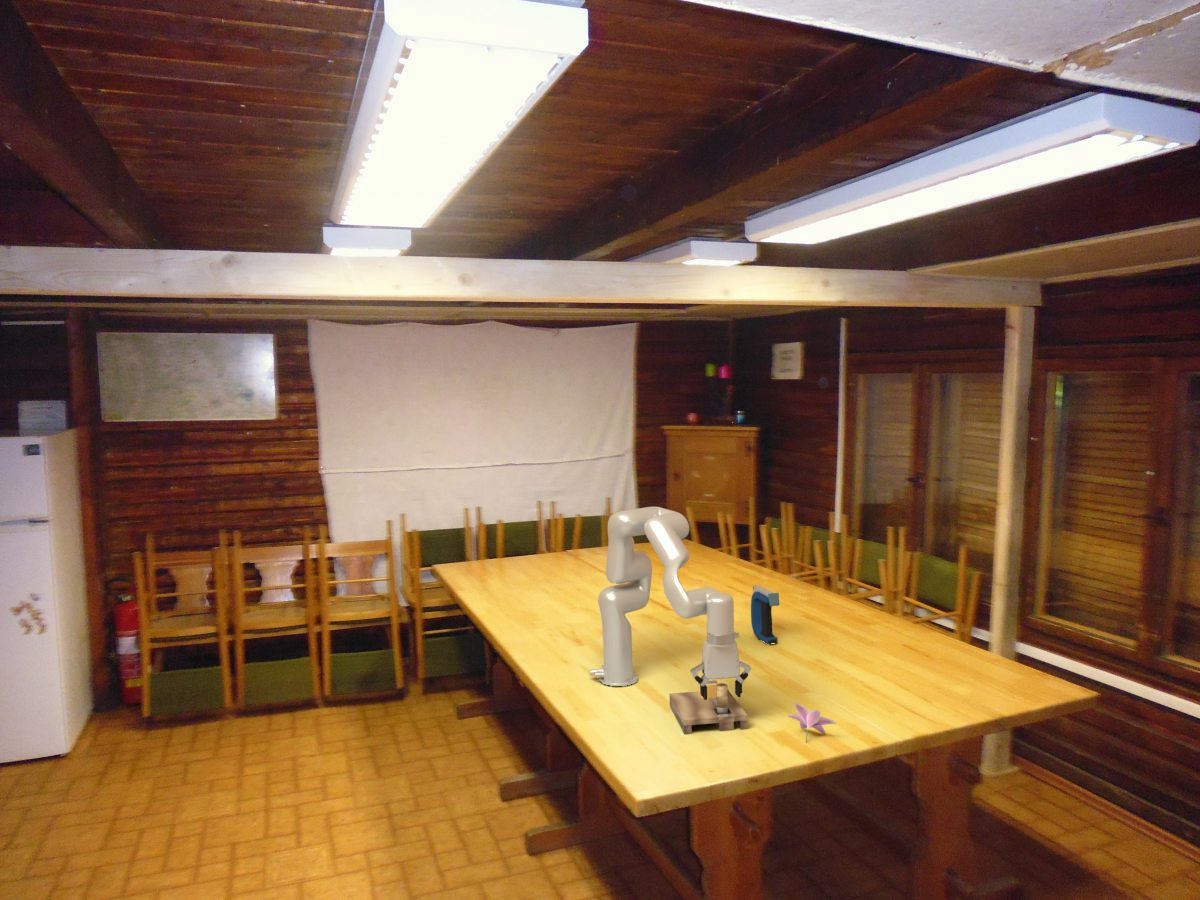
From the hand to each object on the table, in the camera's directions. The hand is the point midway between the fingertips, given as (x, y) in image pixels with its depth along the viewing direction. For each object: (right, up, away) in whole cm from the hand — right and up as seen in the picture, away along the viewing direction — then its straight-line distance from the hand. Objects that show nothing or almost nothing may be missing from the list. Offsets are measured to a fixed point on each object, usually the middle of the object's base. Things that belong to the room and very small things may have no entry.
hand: (721, 696), depth 230 cm
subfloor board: (-3, -8, +6) cm, 10 cm away
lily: (+23, -8, -9) cm, 26 cm away
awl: (0, -6, 0) cm, 6 cm away
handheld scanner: (+28, -2, +75) cm, 80 cm away
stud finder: (-1, -3, +12) cm, 12 cm away
